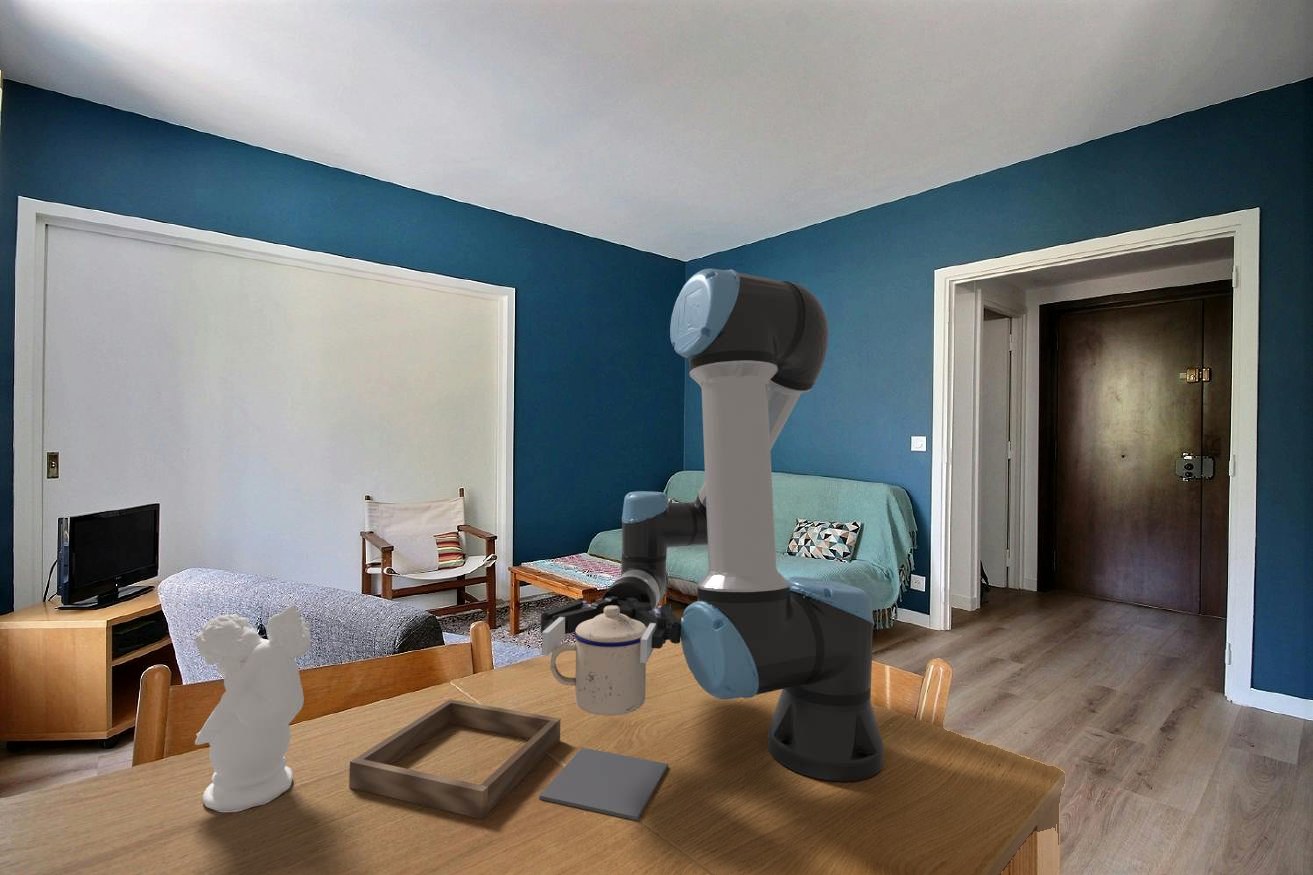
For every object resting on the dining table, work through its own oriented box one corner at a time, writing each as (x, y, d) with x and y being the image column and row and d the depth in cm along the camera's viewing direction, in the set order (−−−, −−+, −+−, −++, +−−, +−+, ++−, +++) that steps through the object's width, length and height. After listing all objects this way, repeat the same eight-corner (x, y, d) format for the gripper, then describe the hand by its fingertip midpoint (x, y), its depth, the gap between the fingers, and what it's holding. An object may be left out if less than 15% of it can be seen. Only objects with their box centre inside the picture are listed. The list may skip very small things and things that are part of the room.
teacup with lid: (641, 684, 81) (642, 596, 81) (652, 715, 72) (654, 616, 72) (548, 690, 79) (550, 599, 79) (549, 721, 70) (550, 619, 70)
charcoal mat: (667, 766, 79) (667, 763, 79) (637, 820, 68) (637, 816, 68) (581, 750, 83) (582, 747, 83) (539, 798, 71) (539, 795, 71)
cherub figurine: (174, 805, 68) (178, 606, 69) (267, 751, 80) (270, 582, 81) (266, 821, 66) (270, 614, 66) (348, 763, 78) (351, 588, 78)
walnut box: (559, 740, 85) (560, 718, 85) (482, 818, 67) (482, 791, 67) (448, 719, 91) (449, 699, 91) (349, 787, 73) (349, 761, 73)
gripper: (708, 630, 92) (693, 687, 70) (556, 620, 95) (497, 671, 74) (709, 579, 92) (694, 621, 70) (557, 571, 96) (498, 609, 74)
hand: (593, 647), depth 72 cm, fingers closed on teacup with lid, 11 cm apart
